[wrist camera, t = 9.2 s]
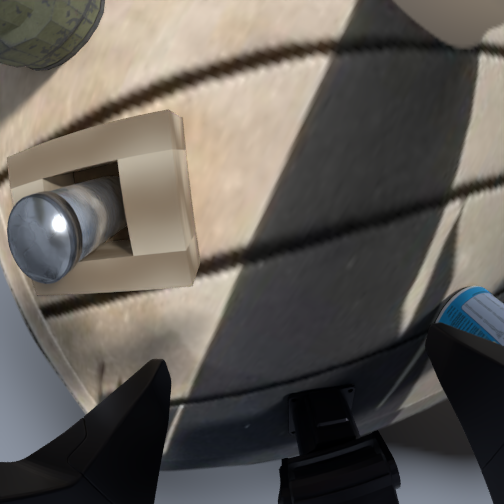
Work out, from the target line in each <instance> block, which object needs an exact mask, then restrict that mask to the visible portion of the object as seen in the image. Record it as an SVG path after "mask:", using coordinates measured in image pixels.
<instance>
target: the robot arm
mask: <svg viewBox="0 0 504 504" xmlns="http://www.w3.org/2000/svg"><path fill="white" fill-rule="evenodd" d="M425 348H426V351H427V353H428V356H429V358H430V360H431V363H432V365H433V367H434V370H435V372H436V375H437V377H438V379H439V382H440V384H441V386H442V388H443V390H444V392H445V393H446V395H447V397H448V399H449V401H450V403H451V405H452V407H453V409H454V411H455V413H456V415H457V417H458V419H459V421H460V423H461V425H462V427H463V430H464V432H465V434H466V436H467V438H468V440H469V443H470V445H471V447H472V450H473V452H474V454H475V456H476V459H477V461H478V464H479V466H480V468H481V471H482V474H483V476H484V479H485V481H486V484H487V487H488V489H489V492H490V495H491V498H492V501H493V504H504V346H502V345H500V344H497V343H494V342H492V341H489V340H487V339H484V338H481V337H479V336H476V335H473V334H471V333H468V332H465V331H463V330H460V329H458V328H455V327H452V326H450V325H447V324H444V323H442V322H438V323H434V324H432V325H430V327H429V331H428V335H427V339H426V343H425ZM349 389H350V390H349ZM354 394H355V387H354V385H352V384H350V385H345V386H340V387H334V388H329V389H323V390H317V391H310V392H303V393H296V394H291V395H289V397H288V429H289V434H290V435H296V438H297V443H298V449H299V454H300V456H297V457H292V458H284V459H282V466H281V467H280V469H279V473H280V482H281V483H280V491H279V496H278V504H399V501H398V498H397V494H396V489H398V488H399V487H400V484H401V483H400V476H399V472H398V468H397V465H396V463H395V460H394V458H393V456H392V454H391V452H390V451H389V449H388V447H387V445H386V444H385V442H384V440H383V438H382V437H381V435H380V433H379V431H378V430H377V431H374V432H372V433H371V434H369V435H366V436H363V437H360V434H359V431H358V429H357V426H356V423H355V421H354V418H353V415H352V413H351V409H352V404H353V399H354ZM170 395H171V377H170V374H169V371H168V368H167V365H166V362H165V361H164V360H163V359H152V360H150V361H149V362H148V363H147V364H145V365H144V366H143V367H142V368H141V369H140V370H138V371H137V372H136V373H135V374H134V375H133V376H131V377H130V378H129V379H128V380H127V381H126V382H124V383H123V384H122V385H121V386H120V387H118V388H117V389H116V390H115V391H114V392H113V393H111V394H110V395H109V396H108V397H107V398H105V399H104V400H103V401H102V402H101V403H100V404H98V405H97V406H96V407H95V408H94V409H92V410H91V411H90V412H89V413H88V414H86V415H85V416H84V418H82V419H80V420H79V421H78V422H77V423H75V424H74V425H73V426H72V427H70V428H69V429H68V430H67V431H65V432H64V433H63V434H61V435H60V436H58V437H57V438H56V439H54V440H53V441H51V442H50V443H48V444H47V445H45V446H43V447H42V448H40V449H39V450H38V451H36V452H34V453H33V454H31V455H30V456H28V457H26V458H24V459H22V460H20V461H16V462H0V504H154V500H155V494H156V488H157V482H158V476H159V470H160V465H161V459H162V454H163V449H164V443H165V438H166V433H167V428H168V421H169V408H170Z"/></svg>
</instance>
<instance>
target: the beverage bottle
mask: <svg viewBox="0 0 504 504" xmlns="http://www.w3.org/2000/svg"><path fill="white" fill-rule="evenodd" d="M438 322H442V323H444V324H447V325H450V326H452V327H455V328H458V329H460V330H463V331H465V332H468V333H471V334H473V335H476V336H479V337H481V338H484V339H487V340H489V341H492V342H494V343H497V344H500V345H502V346H504V304H503V303H502V302H501V301H499V300H498V299H497V298H495V297H494V296H493V295H492V294H491V293H490V292H489V291H487V290H486V289H485V288H483V287H480V286H470V287H467V288H465V289H463V290H461V291H460V292H458V293H457V294H456V295H454V296H453V297H452V298H451V299H450V300H449V301H448V303H447V304H446V305H445V306H444V308H443V309H442V311H441V312H440V314H439V316H438V318H437V320H436V322H435V323H438Z"/></svg>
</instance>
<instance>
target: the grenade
mask: <svg viewBox="0 0 504 504" xmlns="http://www.w3.org/2000/svg"><path fill="white" fill-rule="evenodd" d="M104 4H105V0H0V63H2V64H6V65H10V66H14V67H24V66H26V67H28V68H31V69H33V70H49V69H51V68H54V67H56V66H59V65H61V64H63V63H64V62H65V61H67V60H68V59H69V58H71V57H72V56H74V55H75V54H76V53H77V52H78V51H79V50H80V49H81V48H82V47H83V46H84V45H85V44H86V43H87V42H88V40H89V39H90V37H91V36H92V34H93V33H94V31H95V30H96V29H97V27H98V25H99V22H100V20H101V17H102V15H103V13H104Z"/></svg>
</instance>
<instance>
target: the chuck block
mask: <svg viewBox="0 0 504 504" xmlns="http://www.w3.org/2000/svg"><path fill="white" fill-rule="evenodd" d="M115 162H118V168H119V176H120V183H121V190H122V196H123V203H124V209H125V215H126V220H127V226H128V231H129V236H130V239H129V240H121V241H113V242H105V243H102V244H101V245H100V246H98V247H97V248H96V249H95V250H93V251H92V252H91V253H89V254H88V255H87V256H85V257H84V258H83V259H82V260H80V261H79V262H78V263H77V264H76V266H75V267H74V268H73V269H72V270H71V271H70V272H69V273H67V274H66V275H65V276H64V277H63V278H62V279H60V280H59V281H57V282H55V283H51V284H43V283H39V282H36V281H34V280H32V282H33V285H34V288H35V291H36V294H37V296H43V295H66V294H86V293H104V292H121V291H136V290H151V289H165V288H178V287H191V286H192V285H193V282H194V279H195V277H196V274H197V271H198V268H199V265H200V256H199V249H198V242H197V235H196V228H195V221H194V214H193V206H192V199H191V191H190V183H189V174H188V165H187V156H186V147H185V137H184V127H183V118H182V117H181V116H179V115H177V114H175V113H174V112H172V111H170V110H164V111H158V112H153V113H148V114H144V115H139V116H134V117H130V118H126V119H121V120H117V121H113V122H110V123H106V124H102V125H98V126H95V127H91V128H88V129H84V130H81V131H78V132H75V133H71V134H68V135H65V136H62V137H59V138H56V139H53V140H50V141H48V142H45V143H42V144H39V145H37V146H34V147H32V148H29V149H26V150H24V151H21V152H19V153H17V154H14V155H12V156H9V157H7V164H8V173H9V181H10V188H11V194H12V200H13V206H15V204H16V203H17V202H18V201H19V200H20V199H22V198H23V197H26V196H28V195H31V194H35V193H38V192H43V191H52V190H55V189H59V188H62V187H66V186H70V185H73V184H74V177H73V172H76V171H80V170H84V169H88V168H93V167H97V166H101V165H106V164H110V163H115Z"/></svg>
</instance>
